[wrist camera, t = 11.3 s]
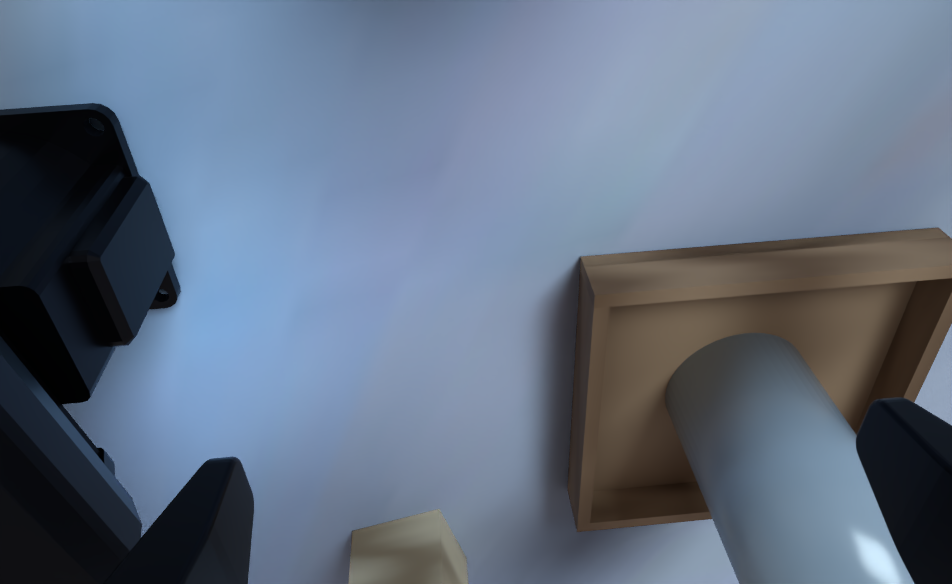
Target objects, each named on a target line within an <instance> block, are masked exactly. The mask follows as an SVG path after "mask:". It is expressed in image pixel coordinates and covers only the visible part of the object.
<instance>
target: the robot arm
mask: <svg viewBox="0 0 952 584" xmlns="http://www.w3.org/2000/svg"><path fill="white" fill-rule="evenodd" d="M89 118H93V119H97V120H98V121H100V122H101V123H102V124H103V126H104V130H97V129H96V128H94V127H93V126H92V125H91V123H90V121H89ZM174 256H175V253H174V250H173V247H172V244H171V241H170V239H169V236H168V233H167V230H166V228H165V225H164V222H163V219H162V216H161V214H160V211H159V208H158V205H157V203H156V200H155V197H154V194H153V192H152V189H151V186H150V184H149V183H148V182H147V181H146V180H145V179H144V178H143V177H141V176H139V174H138V171H137V168H136V166H135V163H134V160H133V158H132V155H131V152H130V150H129V147H128V144H127V141H126V139H125V136H124V133H123V131H122V128H121V125H120V122H119V120H118V118H117V116H116V115H115V113H114V112H113V111H111V110H110V109H109V108H108V107H106V106H103V105H101V104H94V103H90V104H75V105H61V106H47V107H33V108H19V109H5V110H0V584H248V572H249V561H250V549H251V538H252V526H253V515H254V498H253V493H252V490H251V487H250V485H249V482H248V479H247V477H246V474H245V471H244V469H243V466H242V463H241V462H240V460H239V459H238V458H236V457H224V458H213V459H209V460H207V461H206V462H205V463H204V464H203V465H202V466H201V467H200V468H199V469H198V471H197V472H196V473H195V474H194V475H193V477H192V478H191V479H190V480H189V481H188V483H187V484H186V485H185V486H184V487H183V489H182V490H181V491H180V492H179V493H178V494H177V496H176V497H175V498H174V499H173V500H172V502H171V503H170V504H169V505H168V506H167V508H166V509H165V510H164V511H163V512H162V514H161V515H160V516H159V517H158V518H157V520H156V521H155V522H154V523H153V524H152V526H151V527H150V528H149V529H148V530H147V532H146V533H145V534H144V535H143V536H142V537H141V528H142V524H141V521H140V518H139V516H138V513H137V510H136V508H135V505H134V502H133V500H132V497H131V496H130V495H129V494H128V493H127V491H126V490H125V489H124V488H123V486H122V485H121V484H120V483H119V481H118V480H117V479H116V478H115V467H114V462H113V461H112V459H111V458H110V457H109V456H108V454H107V453H106V452H105V451H104V449H102V448H96V446H95V445H94V444H93V443H92V441H91V440H90V439H89V438H88V436H87V435H86V434H85V433H84V431H83V430H82V429H81V428H80V426H79V425H78V424H77V423H76V422H75V420H74V419H73V418H72V417H71V415H70V414H69V413H68V412H67V410H66V409H65V408H64V407H63V405H62V404H69V403H80V402H84V401H88V399H89V398H90V397H91V395H92V393H93V391H94V389H95V387H96V385H97V383H98V381H99V379H100V377H101V375H102V373H103V371H104V369H105V367H106V365H107V363H108V361H109V359H110V357H111V355H112V353H113V352H114V350H115V348H116V346H126V345H129V344H130V343H131V342H132V340H133V339H134V338H135V337H136V335H137V333H138V331H139V329H140V327H141V325H142V322H143V320H144V318H145V316H146V314H147V312H148V310H149V309H159V308H167V307H171V306H172V305H174V304H175V303H176V301H177V298H178V296H179V294H180V292H181V291H180V285H179V282H178V280H177V277H176V274H175V271H174V269H173V266H172V263H171V262H172V260H173V258H174ZM158 289H163V290H165V291H166V292H167V293H168V294H161V293H160V292H158ZM856 450H857V454H858V457H859V459H860V461H861V464H862V466H863V469H864V471H865V474H866V476H867V479H868V481H869V484H870V486H871V489H872V491H873V493H874V496H875V498H876V501H877V503H878V506H879V508H880V511H881V513H882V516H883V518H884V520H885V523H886V525H887V528H888V530H889V533H890V535H891V537H892V540H893V542H894V544H895V546H896V549H897V551H898V553H899V555H900V557H901V559H902V561H903V563H904V565H905V567H906V569H907V571H908V572H909V574H910V576H911V578H912V580H913V582H914V584H952V425H950V424H948V423H947V422H945V421H943V420H942V419H940V418H938V417H937V416H935V415H933V414H932V413H930V412H928V411H927V410H925V409H924V408H922V407H920V406H919V405H917V404H915V403H914V402H912V401H910V400H908V399H906V398H902V397H894V398H883V399H876V400H874V401H873V402H872V403H871V404H870V406H869V408H868V410H867V412H866V415H865V417H864V419H863V422H862V424H861V426H860V429H859V431H858V434H857V436H856Z"/></svg>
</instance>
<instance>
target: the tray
mask: <svg viewBox="0 0 952 584" xmlns="http://www.w3.org/2000/svg"><path fill="white" fill-rule="evenodd" d="M951 324H952V239H951V238H950V237H949V236H948V235H947V234H945V233H944V232H943V231H942V230H941V229H939V228H927V229H915V230H902V231H890V232H878V233H865V234H853V235H841V236H829V237H816V238H804V239H792V240H779V241H767V242H755V243H743V244H730V245H718V246H706V247H693V248H681V249H669V250H657V251H644V252H632V253H620V254H607V255H595V256H583V257H581V261H580V278H579V296H578V313H577V331H576V349H575V366H574V384H573V401H572V419H571V436H570V454H569V471H568V494H569V498H570V503H571V507H572V511H573V516H574V520H575V525H576V529H577V532H582V531H592V530H603V529H613V528H623V527H634V526H644V525H654V524H665V523H675V522H685V521H695V520H706V519H712V517H711V514H710V512H709V509H708V507H707V505H706V502H705V500H704V497H703V495H702V493H701V490H700V488H699V485H698V483H697V481H696V478H695V476H694V473H693V471H692V468H691V466H690V464H689V461H688V459H687V456H686V454H685V452H684V449H683V447H682V444H681V442H680V440H679V437H678V435H677V432H676V430H675V428H674V425H673V423H672V420H671V418H670V416H669V413H668V411H667V408H666V404H665V393H666V388H667V385H668V383H669V381H670V379H671V377H672V375H673V374H674V372H675V371H676V370H677V368H678V367H679V366H680V365H681V364H682V363H683V362H684V361H685V360H686V359H687V358H688V357H689V356H691V355H692V354H693V353H695V352H696V351H698V350H699V349H701V348H703V347H704V346H706V345H708V344H710V343H712V342H715V341H717V340H720V339H723V338H726V337H729V336H733V335H738V334H744V333H765V334H771V335H775V336H779V337H781V338H783V339H785V340H787V341H789V342H790V343H792V344H793V345H794V346H795V347H796V348H797V350H798V351H799V352H800V354H801V355H802V357H803V358H804V360H805V361H806V363H807V364H808V365H809V367H810V368H811V370H812V371H813V373H814V374H815V376H816V377H817V379H818V380H819V381H820V383H821V384H822V386H823V387H824V389H825V390H826V392H827V393H828V395H829V396H830V397H831V399H832V400H833V402H834V403H835V405H836V406H837V408H838V409H839V410H840V412H841V413H842V415H843V416H844V418H845V419H846V421H847V422H848V424H849V425H850V426H851V428H852V429H853V431H854V432H855V434H856V435H857V434H858V431H859V429H860V426H861V424H862V422H863V419H864V417H865V415H866V412H867V410H868V408H869V406H870V404H871V403H872V402H873V401H874V400H876V399H883V398H894V397H902V398H906V399H908V400H910V401H912V402H915V400H916V398H917V395H918V393H919V391H920V389H921V387H922V385H923V383H924V381H925V379H926V376H927V374H928V372H929V370H930V368H931V366H932V364H933V362H934V360H935V357H936V355H937V353H938V351H939V349H940V347H941V345H942V343H943V341H944V338H945V336H946V334H947V332H948V330H949V328H950V326H951Z"/></svg>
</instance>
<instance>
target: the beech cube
mask: <svg viewBox="0 0 952 584" xmlns="http://www.w3.org/2000/svg"><path fill="white" fill-rule="evenodd" d="M348 584H468V573H467V560H466V556H465V555H464V553H463V551H462V549H461V547H460V546H459V544H458V542H457V540H456V538H455V537H454V535H453V533H452V531H451V529H450V528H449V526H448V524H447V522H446V520H445V518H444V517H443V515H442V513H441V511H440V509H437V510H433V511H429V512H425V513H421V514H417V515H413V516H409V517H405V518H401V519H397V520H393V521H390V522H386V523H382V524H378V525H374V526H370V527H366V528H362V529H358V530H354V531H352V542H351V555H350V569H349V583H348Z"/></svg>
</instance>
